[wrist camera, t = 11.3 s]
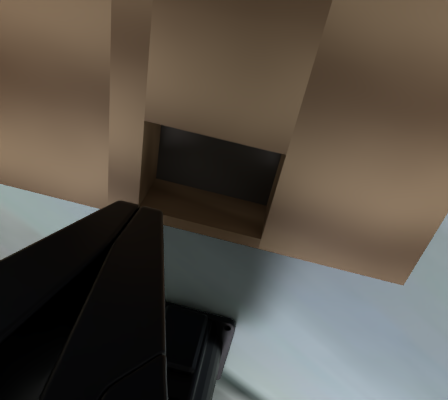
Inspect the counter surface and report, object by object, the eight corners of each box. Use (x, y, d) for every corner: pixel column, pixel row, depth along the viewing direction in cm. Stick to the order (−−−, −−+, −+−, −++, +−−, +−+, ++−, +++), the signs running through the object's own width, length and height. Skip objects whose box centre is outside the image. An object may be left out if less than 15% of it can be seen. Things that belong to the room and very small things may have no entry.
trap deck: (393, 244, 22) (409, 309, 19) (-70, 129, 24) (-141, 169, 20) (601, -137, 13) (712, -155, 9) (-178, -297, 14) (-348, -368, 11)
